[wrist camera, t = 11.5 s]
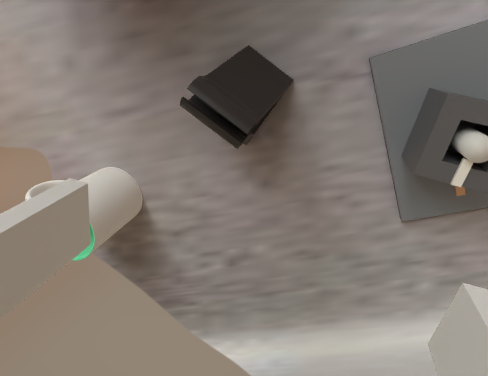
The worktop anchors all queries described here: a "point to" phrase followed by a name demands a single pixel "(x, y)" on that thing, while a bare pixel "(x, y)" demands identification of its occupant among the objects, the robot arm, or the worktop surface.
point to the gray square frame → (446, 140)
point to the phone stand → (237, 95)
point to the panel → (410, 102)
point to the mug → (104, 203)
